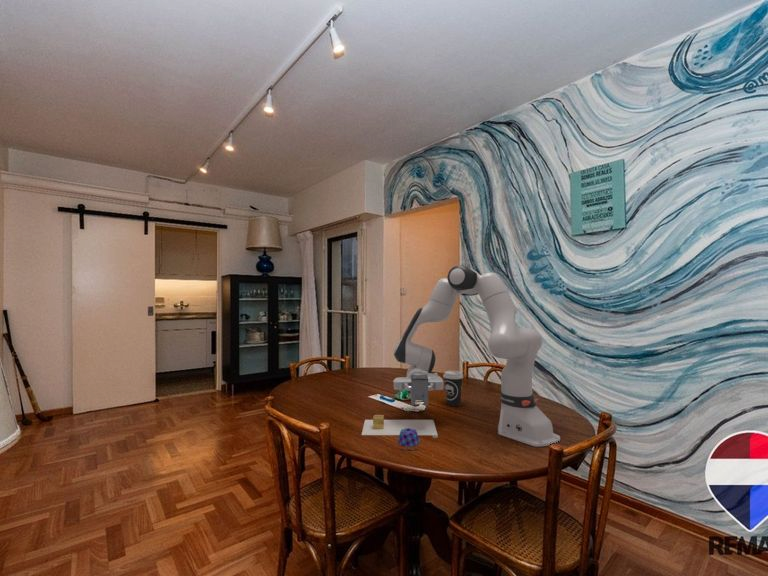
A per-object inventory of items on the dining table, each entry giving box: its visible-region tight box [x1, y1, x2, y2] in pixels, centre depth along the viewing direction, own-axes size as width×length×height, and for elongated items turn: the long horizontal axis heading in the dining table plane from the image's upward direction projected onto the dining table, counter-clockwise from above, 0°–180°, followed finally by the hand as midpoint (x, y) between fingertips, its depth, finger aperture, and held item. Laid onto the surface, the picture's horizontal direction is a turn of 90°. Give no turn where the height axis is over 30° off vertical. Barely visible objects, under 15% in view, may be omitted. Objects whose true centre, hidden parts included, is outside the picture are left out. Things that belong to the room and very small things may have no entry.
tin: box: [410, 375, 429, 406], centre depth 140 cm, size 6×6×10 cm
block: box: [372, 414, 385, 429], centre depth 140 cm, size 4×4×4 cm
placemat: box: [361, 419, 439, 439], centre depth 140 cm, size 28×16×1 cm, turn 88°
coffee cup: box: [442, 370, 464, 407], centre depth 172 cm, size 10×10×15 cm
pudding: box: [397, 428, 421, 452], centre depth 126 cm, size 12×12×5 cm
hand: (419, 389), depth 139 cm, fingers closed on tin, 6 cm apart
